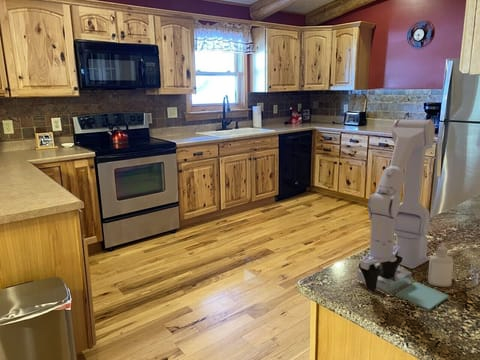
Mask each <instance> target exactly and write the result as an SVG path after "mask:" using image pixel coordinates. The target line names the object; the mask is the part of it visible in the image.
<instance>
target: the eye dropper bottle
mask: <svg viewBox="0 0 480 360" xmlns="http://www.w3.org/2000/svg"><path fill="white" fill-rule="evenodd" d="M428 261H429V262H428V263H429V264H428V272H427V274H428V275H427V282H428V284H429V285H431V286H435V287H442V288H443V287H444V288H445V287H451V286H452V281H453V273H454V272H453V270H454V259H453V258H452V257H451V256H449V255H448V247H446V244H445V242H441V243H440V246H437V251H436V254H432V255H431V256H430V257H429V260H428Z"/></svg>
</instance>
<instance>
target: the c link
mask: <svg viewBox="0 0 480 360" xmlns="http://www.w3.org/2000/svg"><path fill="white" fill-rule="evenodd" d="M374 265H375V266H376V268H377V269H380V263H376V264H374ZM357 280H359V281H362V282H364V283H365V279H364V276H363V274H362V272H361V270H360V269H357ZM411 282H412V272H411V271H409V270H406V269H404V268H400V267H399V266H398V268H397V270H396V272H395V275H394V276H393V277H392V278H390V279H385V278H383V277H381V276H378V279H377V285H376V289H378V290H380V291H382V292H384V293H385V294H387V295H391V294H393V293H394V294H396V293H397V292H396V291H398V290H399V291H401V290H403V289H404V288H403V287H405V286H406V287H408V286H409V284H410V285H411V284H412V283H411ZM407 285H408V286H407ZM406 287H405V288H406ZM402 288H403V289H402ZM400 289H401V290H400ZM399 291H398V292H399ZM395 292H396V293H395ZM385 294H384V295H385ZM394 294H393V295H394ZM387 295H386V296H387ZM391 296H392V295H391Z"/></svg>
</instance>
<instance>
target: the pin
mask: <svg viewBox="0 0 480 360" xmlns="http://www.w3.org/2000/svg"><path fill="white" fill-rule="evenodd" d="M379 270H381V272H380V274H379V276H381V277H383V278H384V276H383V263H382V262H381V263H380V269H379Z"/></svg>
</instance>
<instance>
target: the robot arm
mask: <svg viewBox="0 0 480 360" xmlns="http://www.w3.org/2000/svg"><path fill="white" fill-rule="evenodd" d="M435 131H436V127H435V123H434V121H433V119H403V118H402V119H401V118H397V119H396V120H395V121H394V122H393V124H392V128H391V135H392V141H393V143H394V147H393V152H392V154H391V155H392V156H391V159H390V163H389V165H388V167H386V168H384V169H383V171H382V173H381V176H380V179H379V181H378V184H377V187H376V190H375V192H374V193H371V195H369V199H368V200H367V201H368V202H367V206H366V207H367V212H368V219H369V221H370V237H369V238H370V242H369V251H368V252H367V254H366V255H365V257H363V258H362V259H360V263H358V270H361V272H362V274H363V276H364V279H365V283H366V289H367V290H369V291H371V292H372V293H374V292H376V285H377V279H378V276H379V274H380V272H381V270H379V269H377V268H376V266H375V265H374V264H376V263H381V262H382V263H383V276H384V278H385V279H390V278H392V277H393V276H394V275H395V272H396V270H397V268H398V267H399V266H400V265H401V266H403V267H407V268H409V269H411V270H412V269H416V268H417V267H419V266H421V265H423V264H425V263H426V262H427V261H430V257H427V254H428V253H427V252H428V238H427V235H428V233H429V230H430V225H431V223H430V222H431V221H430V210H429V209H427V208H426V206H424V205H423V204H422V203H421V198H422V186H423V178H424V170H425V169H424V166H425V160H426V158H425V157H426V152H427V150H430V149H431V148H433V145H434V142H435V141H434V140H435V134H436V133H435ZM404 169H405V170H404ZM404 171H405V172H404ZM402 189H403V192H402ZM401 192H402V193H403V195H402V197H401ZM401 198H402V202H401ZM395 235H396V237H395ZM394 241H395V242H394ZM394 243H395V245H394Z"/></svg>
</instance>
